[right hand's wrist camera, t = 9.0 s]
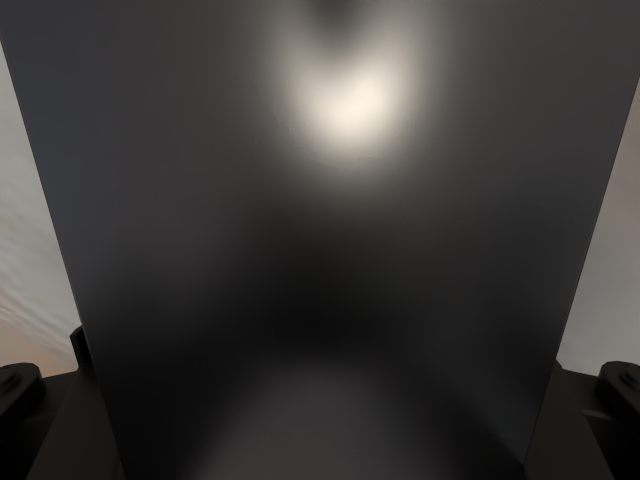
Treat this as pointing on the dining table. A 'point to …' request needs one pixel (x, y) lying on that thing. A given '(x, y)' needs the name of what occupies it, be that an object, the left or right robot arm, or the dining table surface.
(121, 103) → the box
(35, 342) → the dining table surface
